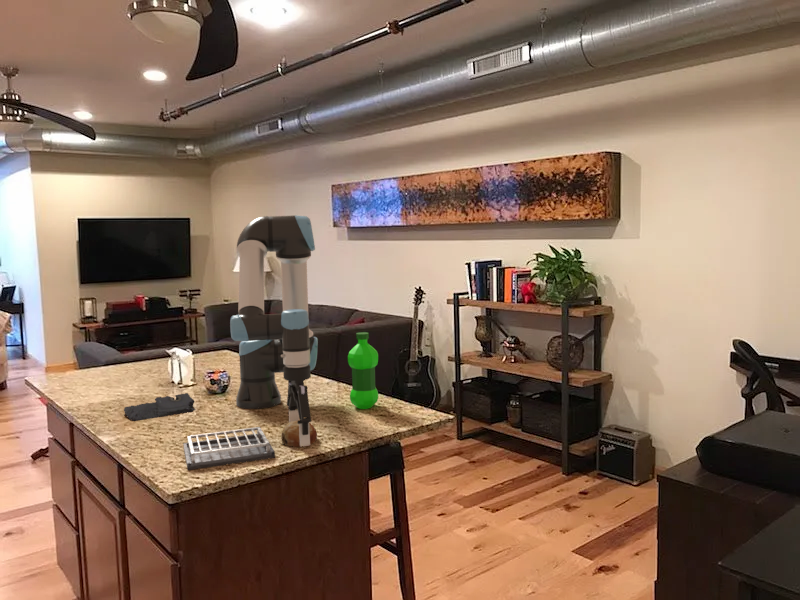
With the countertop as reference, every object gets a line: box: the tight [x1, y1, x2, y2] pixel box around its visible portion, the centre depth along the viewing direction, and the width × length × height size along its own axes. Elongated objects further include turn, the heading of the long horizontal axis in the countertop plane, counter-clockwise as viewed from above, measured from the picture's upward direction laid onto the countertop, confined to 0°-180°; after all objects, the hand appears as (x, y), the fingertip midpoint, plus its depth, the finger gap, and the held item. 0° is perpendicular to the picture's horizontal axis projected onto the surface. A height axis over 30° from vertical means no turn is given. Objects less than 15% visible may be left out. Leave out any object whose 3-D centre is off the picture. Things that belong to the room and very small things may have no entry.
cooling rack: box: [182, 426, 276, 471], centre depth 180 cm, size 18×22×4 cm
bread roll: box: [281, 419, 318, 448], centre depth 189 cm, size 10×10×8 cm
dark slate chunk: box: [123, 392, 197, 422], centre depth 224 cm, size 15×22×5 cm
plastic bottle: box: [347, 331, 379, 410], centre depth 223 cm, size 10×10×25 cm
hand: (299, 438), depth 189 cm, fingers open, 13 cm apart
